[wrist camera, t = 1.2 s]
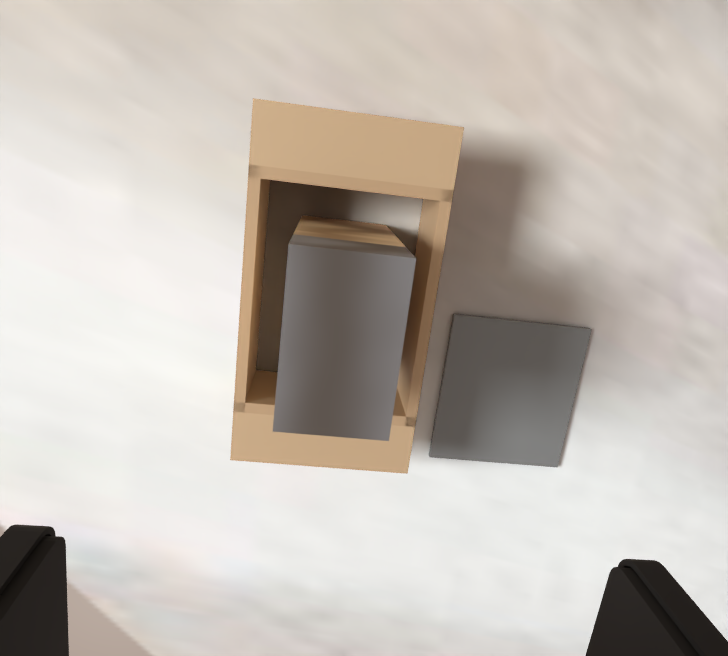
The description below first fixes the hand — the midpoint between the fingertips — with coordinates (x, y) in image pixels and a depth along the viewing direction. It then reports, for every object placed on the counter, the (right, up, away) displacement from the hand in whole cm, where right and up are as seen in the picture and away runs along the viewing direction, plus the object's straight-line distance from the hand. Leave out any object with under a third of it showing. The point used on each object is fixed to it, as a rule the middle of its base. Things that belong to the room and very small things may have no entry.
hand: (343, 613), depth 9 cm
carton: (-1, +7, +25) cm, 26 cm away
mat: (+10, +1, +27) cm, 29 cm away
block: (-1, +8, +25) cm, 26 cm away
